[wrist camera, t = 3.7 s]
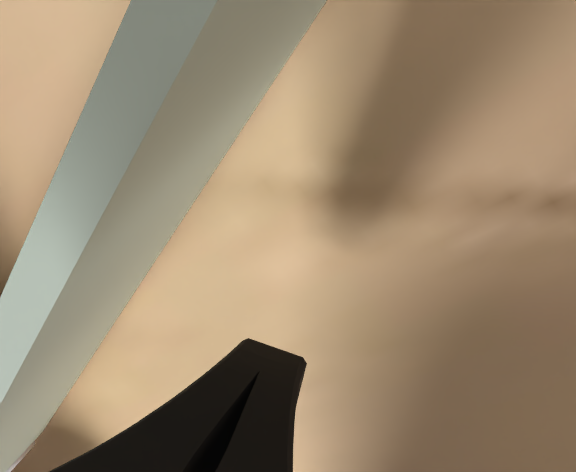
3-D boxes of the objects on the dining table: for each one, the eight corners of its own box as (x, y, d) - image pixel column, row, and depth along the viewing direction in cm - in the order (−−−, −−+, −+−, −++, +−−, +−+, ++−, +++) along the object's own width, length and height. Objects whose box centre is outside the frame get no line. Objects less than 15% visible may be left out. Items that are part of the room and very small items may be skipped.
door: (38, 443, 20) (-95, 587, 15) (16, 427, 20) (-123, 566, 15) (348, -23, 10) (237, -17, 5) (305, -57, 10) (156, -83, 5)
